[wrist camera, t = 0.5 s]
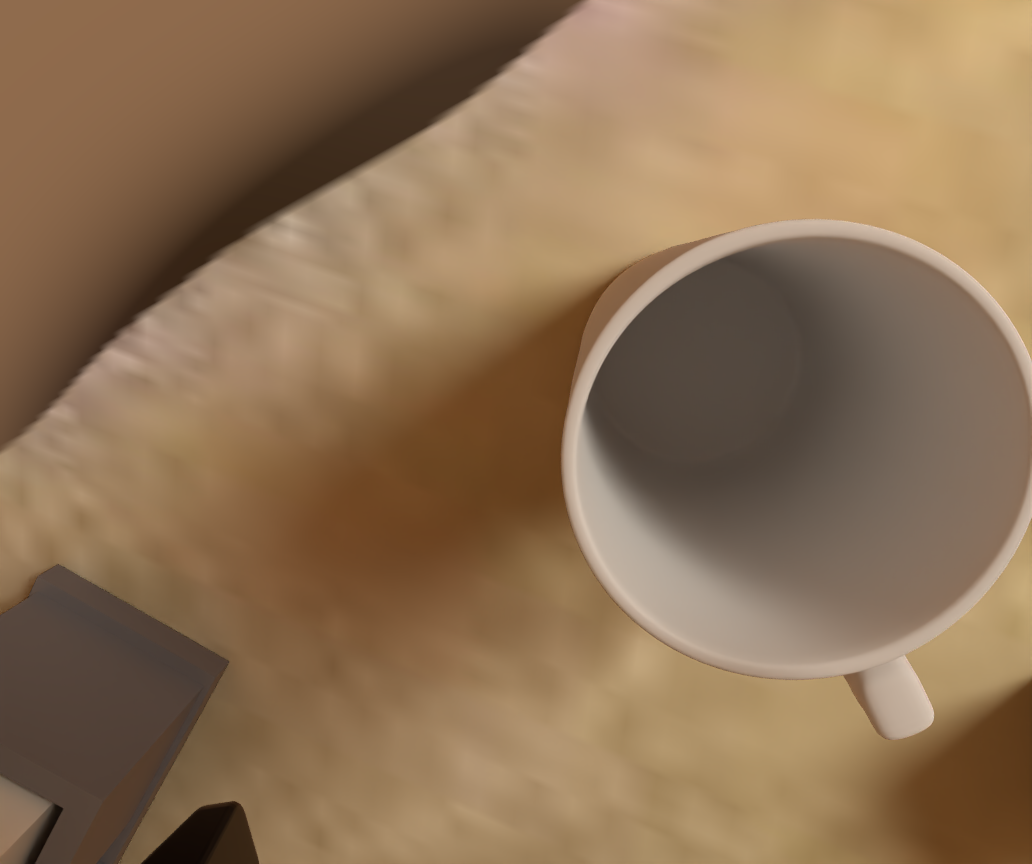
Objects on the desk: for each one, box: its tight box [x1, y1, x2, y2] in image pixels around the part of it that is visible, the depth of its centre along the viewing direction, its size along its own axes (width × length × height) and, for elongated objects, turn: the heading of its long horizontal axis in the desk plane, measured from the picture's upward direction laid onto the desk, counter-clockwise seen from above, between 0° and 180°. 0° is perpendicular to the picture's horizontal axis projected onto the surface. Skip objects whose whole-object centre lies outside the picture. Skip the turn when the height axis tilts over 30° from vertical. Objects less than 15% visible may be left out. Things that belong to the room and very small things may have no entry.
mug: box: [561, 219, 1032, 740], centre depth 18 cm, size 10×7×12 cm, turn 27°
